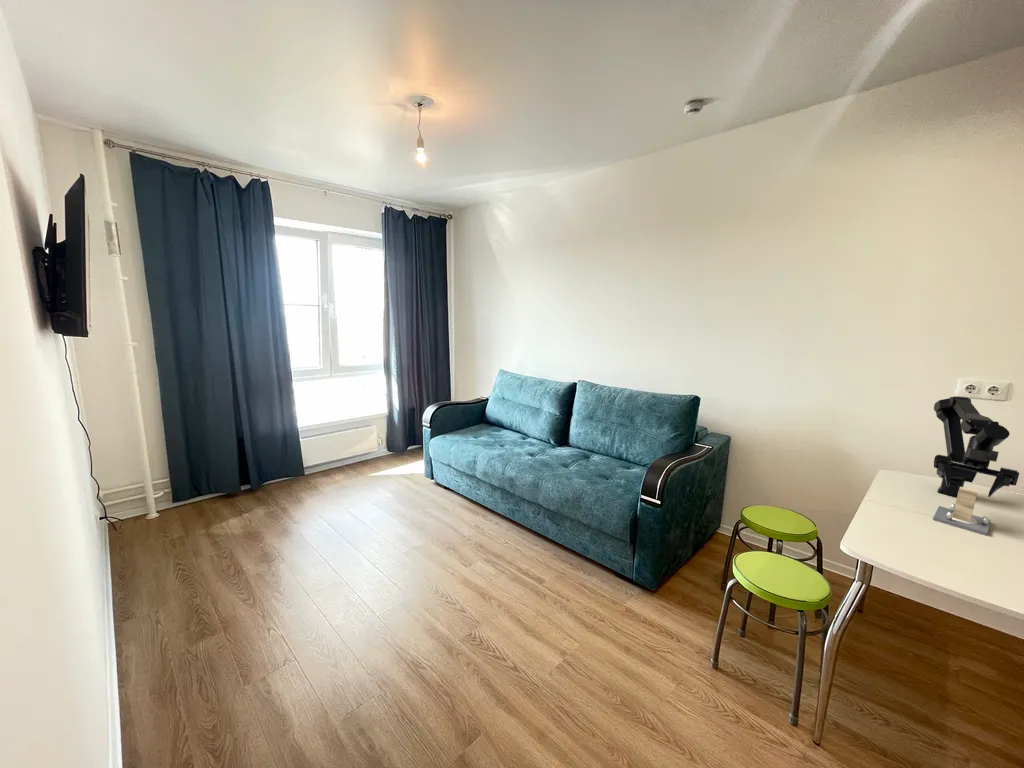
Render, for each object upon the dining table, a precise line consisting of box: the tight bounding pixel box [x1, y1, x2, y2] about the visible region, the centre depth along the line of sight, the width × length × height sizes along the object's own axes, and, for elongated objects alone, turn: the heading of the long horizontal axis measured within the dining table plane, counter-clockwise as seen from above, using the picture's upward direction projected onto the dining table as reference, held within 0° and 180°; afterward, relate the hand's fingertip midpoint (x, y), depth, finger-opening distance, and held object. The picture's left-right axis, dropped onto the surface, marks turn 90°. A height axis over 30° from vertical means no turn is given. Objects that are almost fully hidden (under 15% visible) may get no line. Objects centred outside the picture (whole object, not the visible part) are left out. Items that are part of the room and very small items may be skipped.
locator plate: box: [932, 503, 991, 536], centre depth 136 cm, size 12×12×4 cm
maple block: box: [952, 486, 979, 523], centre depth 135 cm, size 4×4×10 cm
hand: (967, 491), depth 135 cm, fingers open, 9 cm apart
